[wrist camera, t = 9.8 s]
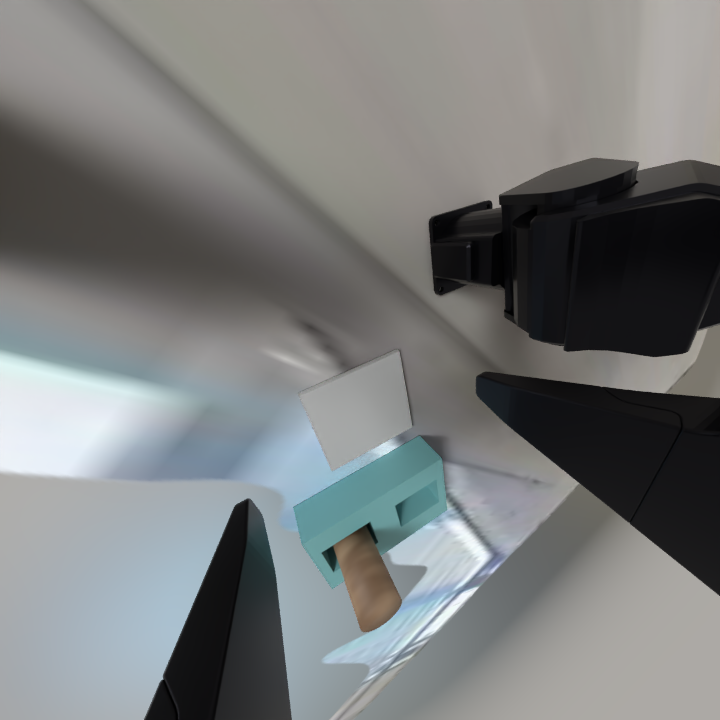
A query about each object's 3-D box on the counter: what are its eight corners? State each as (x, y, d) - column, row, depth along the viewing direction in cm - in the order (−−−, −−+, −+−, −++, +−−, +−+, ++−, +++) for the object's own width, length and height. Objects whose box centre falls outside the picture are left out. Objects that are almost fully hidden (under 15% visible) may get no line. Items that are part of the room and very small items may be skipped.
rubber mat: (396, 349, 24) (399, 350, 24) (409, 424, 29) (412, 426, 29) (297, 393, 22) (298, 396, 21) (330, 467, 26) (332, 471, 26)
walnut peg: (351, 493, 29) (398, 590, 21) (359, 512, 31) (404, 607, 23) (319, 512, 28) (355, 622, 20) (329, 530, 30) (366, 637, 22)
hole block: (419, 435, 31) (442, 458, 27) (427, 485, 36) (447, 509, 32) (293, 507, 26) (301, 544, 23) (321, 552, 31) (332, 589, 28)
